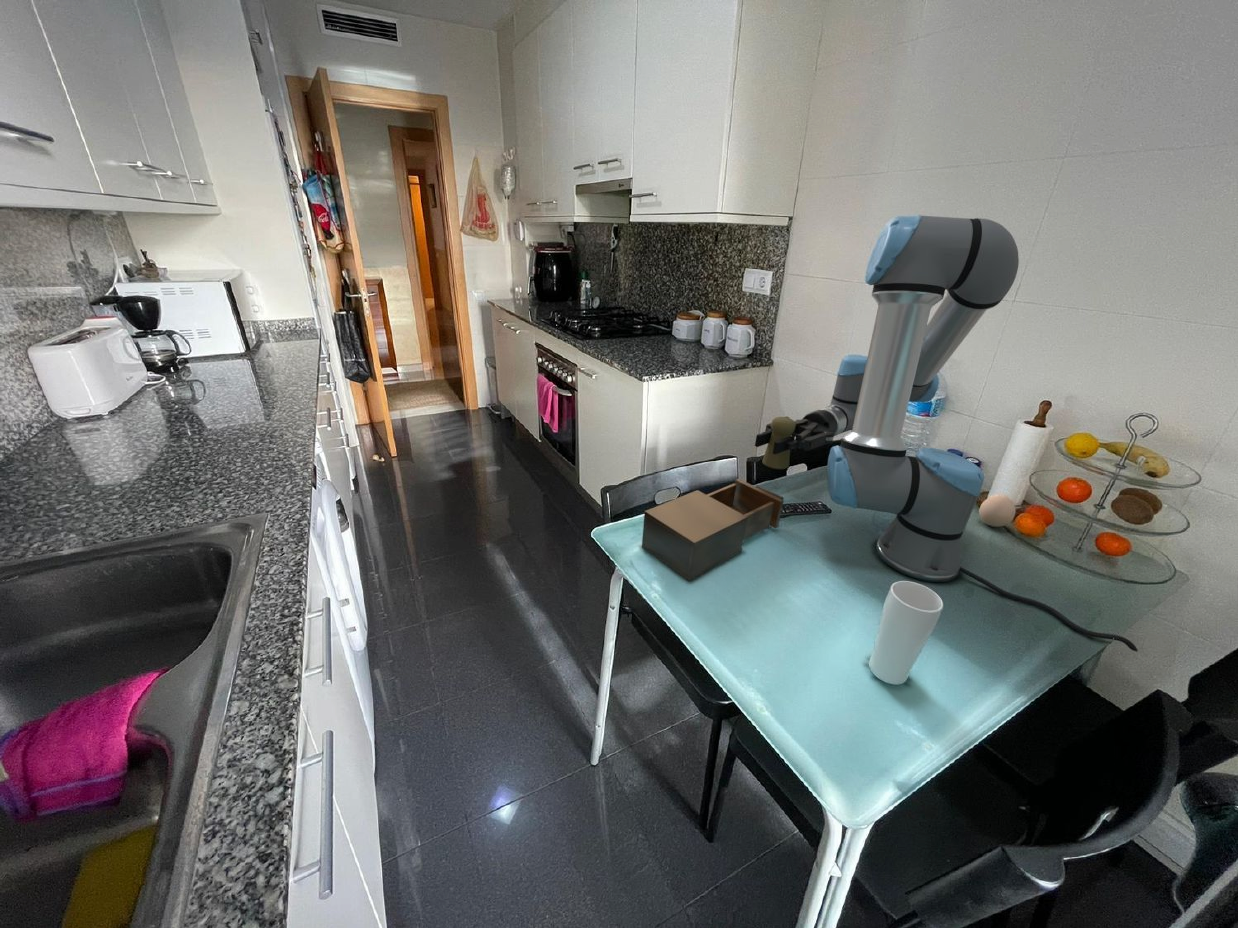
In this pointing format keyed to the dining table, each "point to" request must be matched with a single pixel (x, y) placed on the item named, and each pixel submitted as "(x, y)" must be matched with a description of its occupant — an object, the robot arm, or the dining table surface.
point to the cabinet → (693, 533)
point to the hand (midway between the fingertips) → (766, 444)
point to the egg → (997, 510)
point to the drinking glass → (904, 630)
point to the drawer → (751, 505)
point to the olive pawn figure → (780, 430)
